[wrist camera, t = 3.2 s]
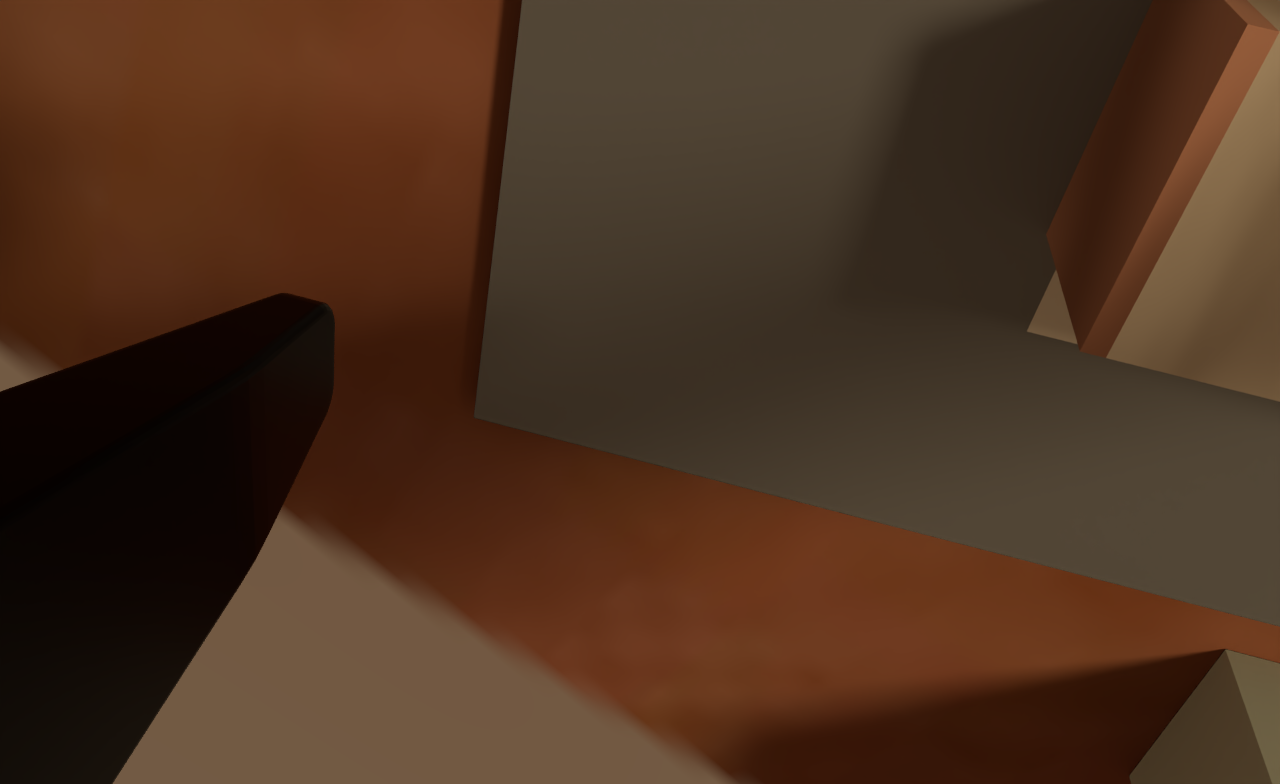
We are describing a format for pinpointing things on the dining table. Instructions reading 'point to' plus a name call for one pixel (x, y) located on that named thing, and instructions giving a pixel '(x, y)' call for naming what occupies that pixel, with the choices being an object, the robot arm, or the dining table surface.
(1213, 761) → the sage pillar
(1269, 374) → the birch pillar
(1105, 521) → the flip mat
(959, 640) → the dining table surface
